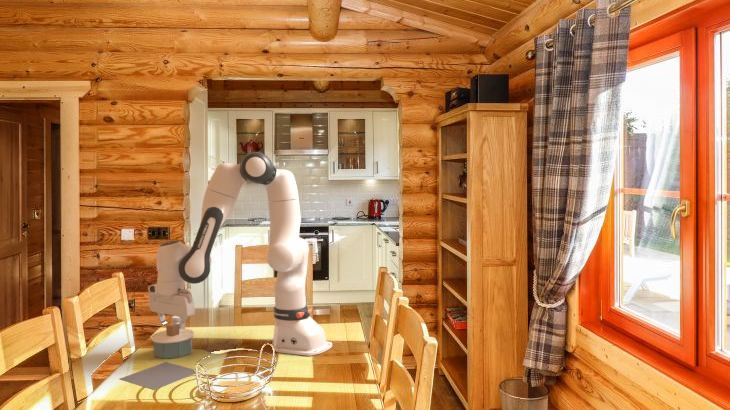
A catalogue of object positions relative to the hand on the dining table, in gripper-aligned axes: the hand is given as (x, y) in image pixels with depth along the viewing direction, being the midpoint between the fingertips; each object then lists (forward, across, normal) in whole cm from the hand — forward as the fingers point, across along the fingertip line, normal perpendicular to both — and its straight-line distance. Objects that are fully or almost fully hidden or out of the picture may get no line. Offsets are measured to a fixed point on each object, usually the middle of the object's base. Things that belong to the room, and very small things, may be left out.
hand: (172, 326), depth 188 cm
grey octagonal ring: (+10, 0, 0) cm, 10 cm away
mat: (+10, -14, +16) cm, 23 cm away
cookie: (+10, -11, -13) cm, 20 cm away
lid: (+4, 0, 0) cm, 4 cm away
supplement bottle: (+10, +10, -10) cm, 17 cm away
